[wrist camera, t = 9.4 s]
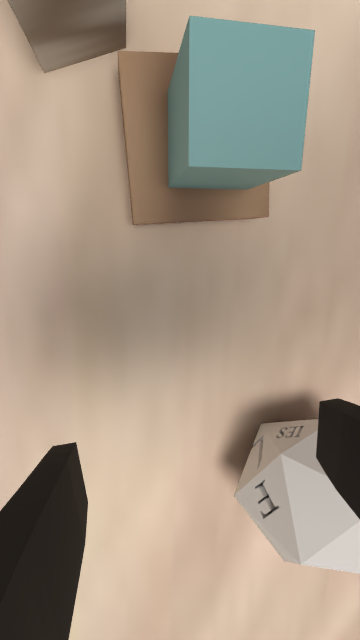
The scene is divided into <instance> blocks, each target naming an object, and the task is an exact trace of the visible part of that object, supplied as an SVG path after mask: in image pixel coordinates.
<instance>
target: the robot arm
mask: <svg viewBox="0 0 360 640" xmlns="http://www.w3.org/2000/svg"><path fill="white" fill-rule="evenodd" d="M316 458H317V460H318V462H319V463H320V465H321V467H322V468H323V470H324V472H325V473H326V475H327V477H328V478H329V480H330V481H331V483H332V484H333V486H334V487H335V489H336V490H337V492H338V493H339V494H340V495H341V497H342V498H343V499H344V500H345V502H346V503H347V504H348V506H349V507H350V508H351V509H352V511H353V512H354V513H355V514H356V516H357V517H358V518H359V519H360V406H358V405H356V404H353V403H350V402H347V401H344V400H341V399H332V400H326V401H320V405H319V419H318V433H317V448H316ZM87 508H88V500H87V495H86V490H85V485H84V480H83V475H82V470H81V465H80V460H79V455H78V450H77V445H76V442H75V443H69V444H63V445H57V446H53V447H52V448H51V449H50V450H49V451H48V453H47V454H46V455H45V456H44V457H43V459H42V460H41V461H40V463H39V464H38V465H37V466H36V468H35V469H34V470H33V471H32V473H31V474H30V475H29V476H28V478H27V479H26V480H25V482H24V483H23V484H22V485H21V487H20V488H19V489H18V490H17V492H16V493H15V494H14V495H13V496H12V498H11V499H10V500H9V501H8V502H7V504H6V505H5V506H4V507H3V508H2V510H1V511H0V640H68V639H69V633H70V627H71V622H72V616H73V610H74V605H75V599H76V593H77V588H78V582H79V576H80V570H81V564H82V559H83V553H84V547H85V537H86V524H87Z"/></svg>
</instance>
